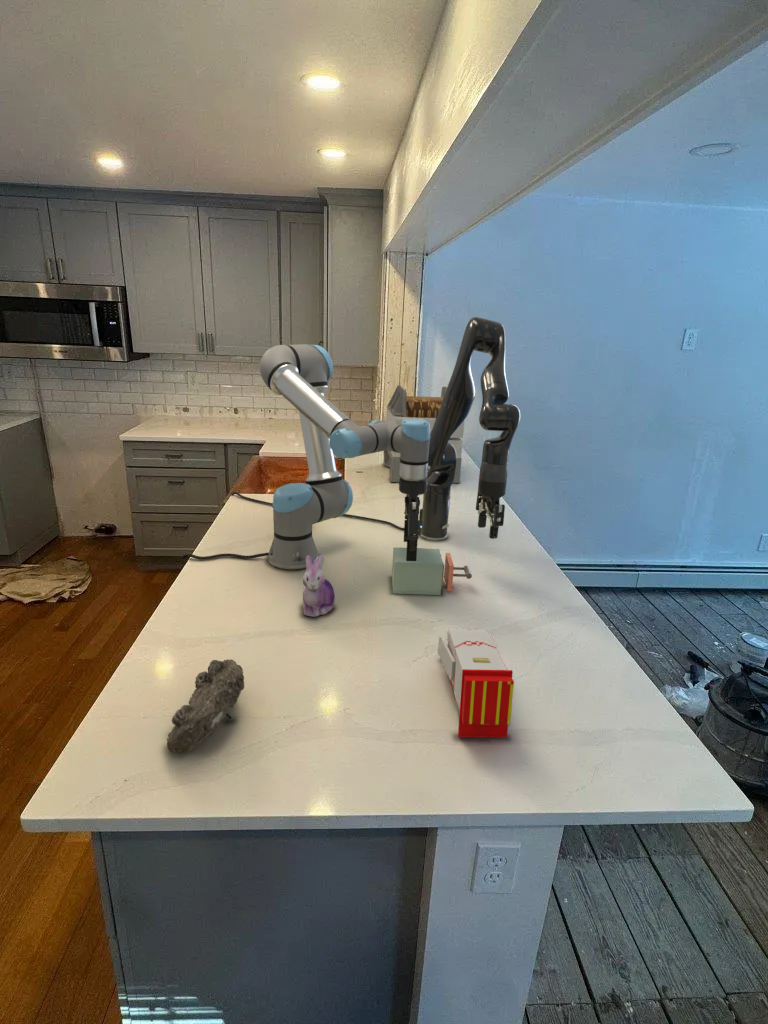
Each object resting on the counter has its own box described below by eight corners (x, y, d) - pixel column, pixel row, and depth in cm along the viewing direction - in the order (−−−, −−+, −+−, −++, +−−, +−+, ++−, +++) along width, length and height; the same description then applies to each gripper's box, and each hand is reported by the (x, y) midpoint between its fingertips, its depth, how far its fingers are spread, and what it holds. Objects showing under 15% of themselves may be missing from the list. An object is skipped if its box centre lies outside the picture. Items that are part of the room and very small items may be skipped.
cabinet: (436, 578, 168) (439, 548, 165) (440, 595, 158) (443, 563, 155) (391, 577, 167) (393, 547, 164) (392, 593, 158) (394, 562, 155)
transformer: (382, 463, 289) (386, 382, 275) (445, 464, 293) (451, 384, 279) (390, 482, 257) (394, 392, 243) (460, 483, 261) (468, 394, 247)
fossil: (192, 660, 117) (244, 628, 112) (224, 691, 120) (276, 661, 115) (142, 746, 98) (202, 712, 93) (182, 779, 101) (242, 748, 96)
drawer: (466, 577, 167) (469, 553, 165) (471, 592, 159) (474, 566, 156) (406, 575, 167) (408, 551, 164) (408, 590, 158) (409, 564, 156)
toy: (488, 613, 130) (523, 677, 101) (484, 667, 133) (517, 744, 104) (435, 612, 130) (455, 676, 101) (432, 666, 133) (451, 743, 103)
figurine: (307, 621, 142) (307, 567, 137) (294, 603, 150) (293, 551, 145) (342, 614, 146) (343, 561, 141) (327, 596, 154) (328, 545, 149)
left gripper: (431, 491, 140) (427, 569, 147) (423, 466, 164) (419, 534, 171) (401, 491, 140) (398, 569, 147) (397, 465, 164) (394, 533, 171)
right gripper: (516, 484, 149) (510, 541, 155) (495, 470, 162) (489, 523, 168) (490, 485, 148) (484, 542, 153) (470, 470, 161) (465, 524, 166)
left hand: (409, 550), depth 159 cm, fingers open, 13 cm apart
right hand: (487, 532), depth 160 cm, fingers open, 8 cm apart
